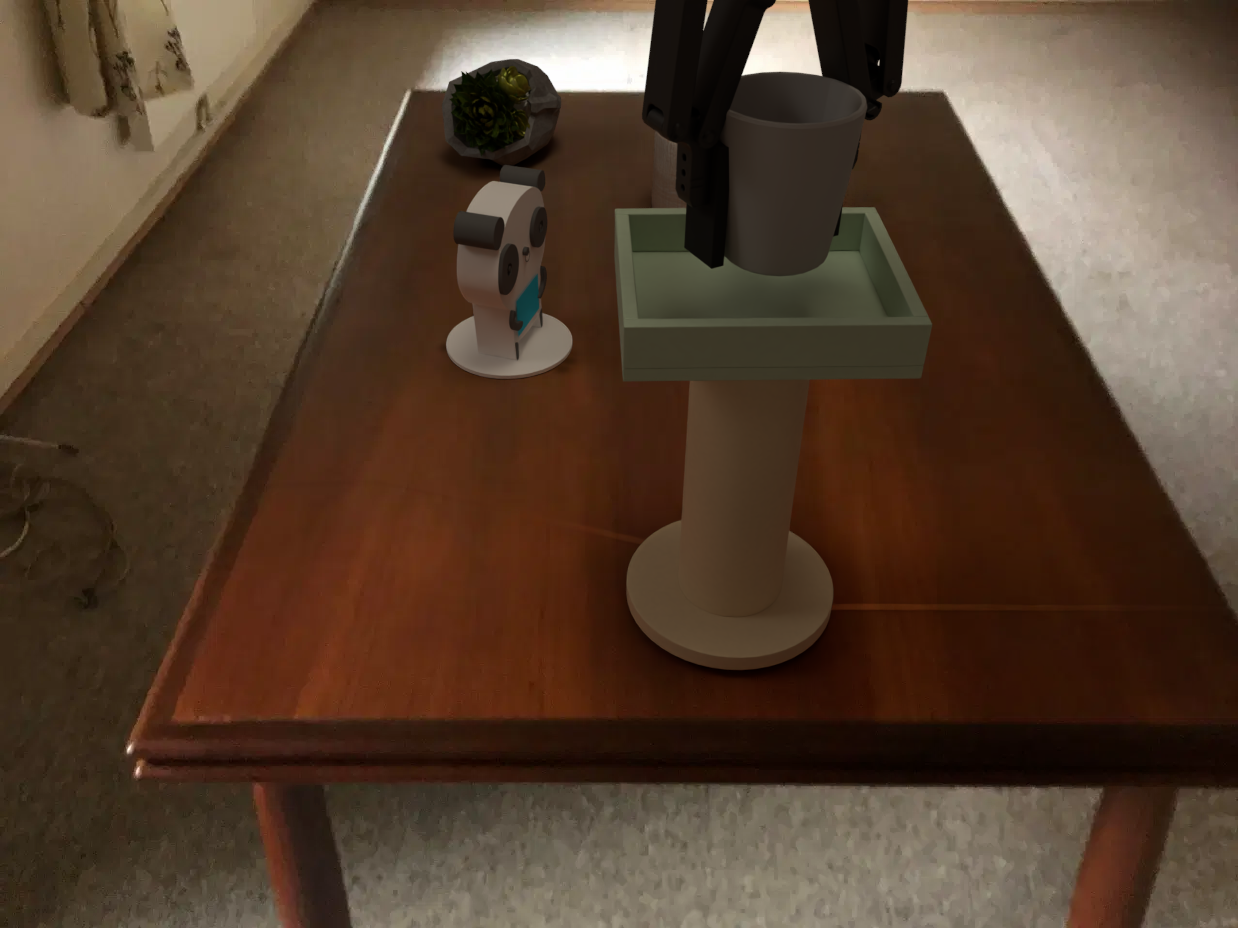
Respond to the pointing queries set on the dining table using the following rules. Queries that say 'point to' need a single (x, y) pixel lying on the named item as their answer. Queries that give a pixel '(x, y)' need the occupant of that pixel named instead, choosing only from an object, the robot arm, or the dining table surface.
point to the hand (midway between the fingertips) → (762, 240)
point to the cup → (788, 168)
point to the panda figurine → (505, 282)
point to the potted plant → (501, 111)
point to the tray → (750, 422)
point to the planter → (665, 174)
